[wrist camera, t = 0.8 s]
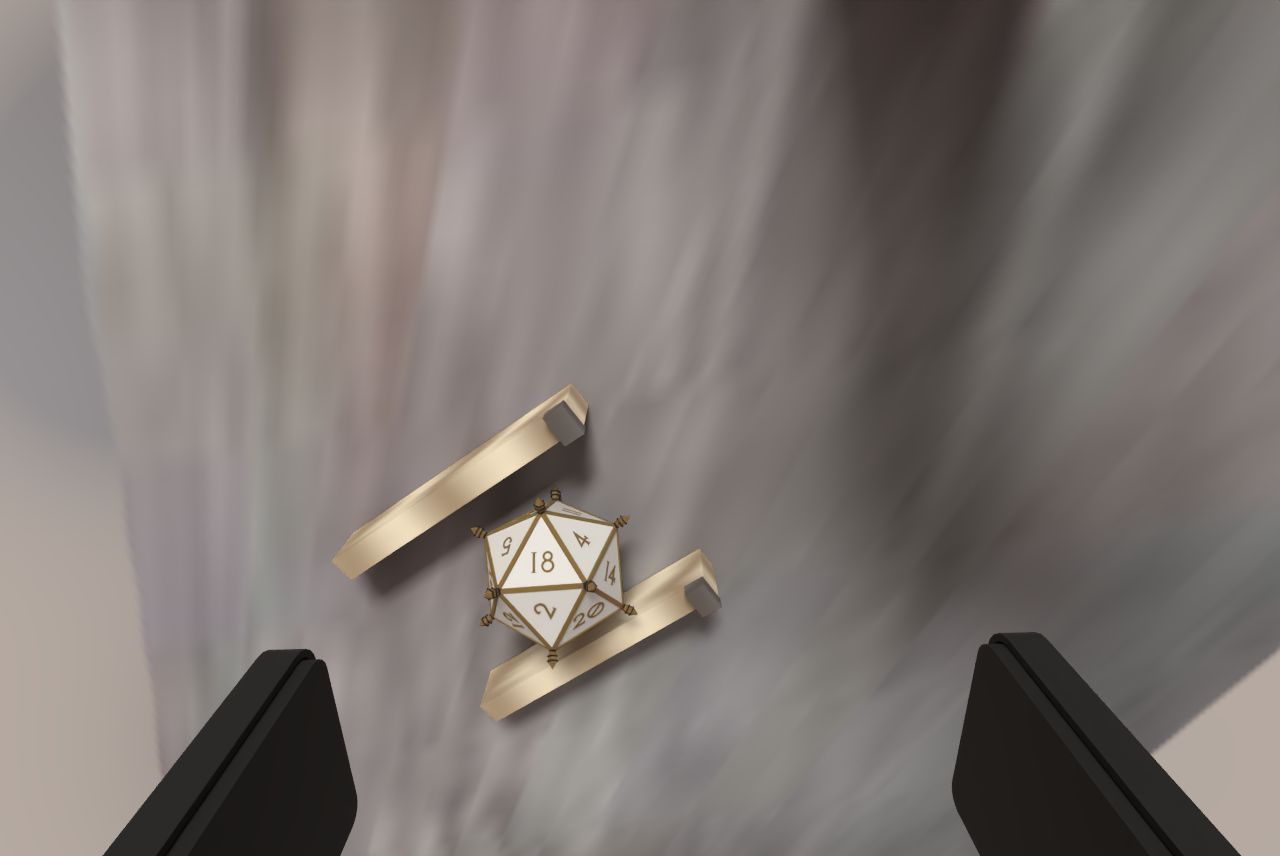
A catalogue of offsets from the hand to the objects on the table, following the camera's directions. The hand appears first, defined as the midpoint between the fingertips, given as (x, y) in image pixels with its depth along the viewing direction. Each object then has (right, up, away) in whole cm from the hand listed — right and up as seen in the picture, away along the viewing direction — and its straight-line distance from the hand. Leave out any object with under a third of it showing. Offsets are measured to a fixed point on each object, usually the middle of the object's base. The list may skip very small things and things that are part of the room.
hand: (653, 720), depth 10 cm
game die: (-5, -2, +29) cm, 30 cm away
